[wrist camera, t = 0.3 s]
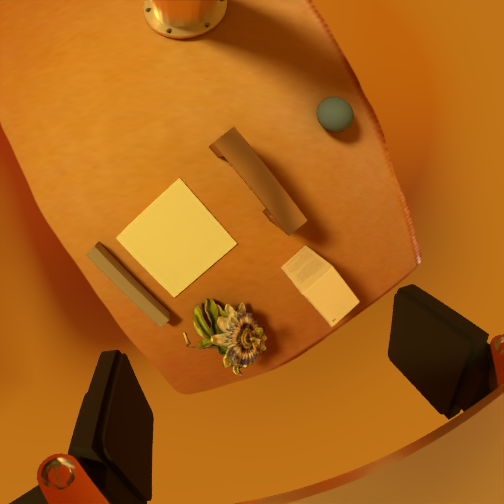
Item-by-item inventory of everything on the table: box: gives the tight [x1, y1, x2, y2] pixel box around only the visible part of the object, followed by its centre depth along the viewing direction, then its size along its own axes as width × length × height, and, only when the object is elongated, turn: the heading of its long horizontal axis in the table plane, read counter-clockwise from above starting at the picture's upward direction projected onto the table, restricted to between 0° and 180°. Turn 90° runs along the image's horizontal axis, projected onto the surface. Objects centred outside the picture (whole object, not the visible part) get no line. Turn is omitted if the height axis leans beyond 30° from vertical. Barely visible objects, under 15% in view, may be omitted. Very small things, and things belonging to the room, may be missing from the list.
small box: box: [281, 246, 360, 327], centre depth 45 cm, size 8×6×10 cm
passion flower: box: [183, 299, 267, 376], centre depth 47 cm, size 11×11×12 cm
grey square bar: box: [86, 242, 170, 328], centre depth 43 cm, size 16×2×2 cm, turn 39°
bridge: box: [209, 127, 308, 236], centre depth 39 cm, size 3×14×9 cm, turn 39°
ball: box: [317, 97, 353, 132], centre depth 40 cm, size 6×6×6 cm
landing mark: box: [116, 178, 237, 298], centre depth 44 cm, size 13×13×1 cm
